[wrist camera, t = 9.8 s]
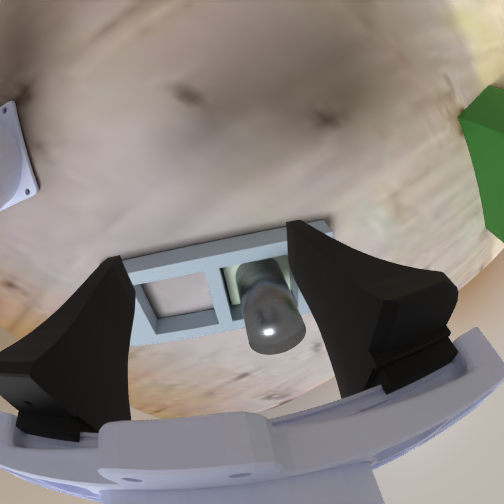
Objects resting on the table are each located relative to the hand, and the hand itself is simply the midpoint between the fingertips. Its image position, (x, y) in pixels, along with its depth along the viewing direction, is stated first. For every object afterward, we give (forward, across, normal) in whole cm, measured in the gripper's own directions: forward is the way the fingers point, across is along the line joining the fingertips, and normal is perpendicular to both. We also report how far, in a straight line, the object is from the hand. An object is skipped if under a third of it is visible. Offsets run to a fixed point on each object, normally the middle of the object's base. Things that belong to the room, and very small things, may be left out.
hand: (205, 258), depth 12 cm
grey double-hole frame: (+9, 0, +9) cm, 13 cm away
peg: (+9, -3, +9) cm, 13 cm away
